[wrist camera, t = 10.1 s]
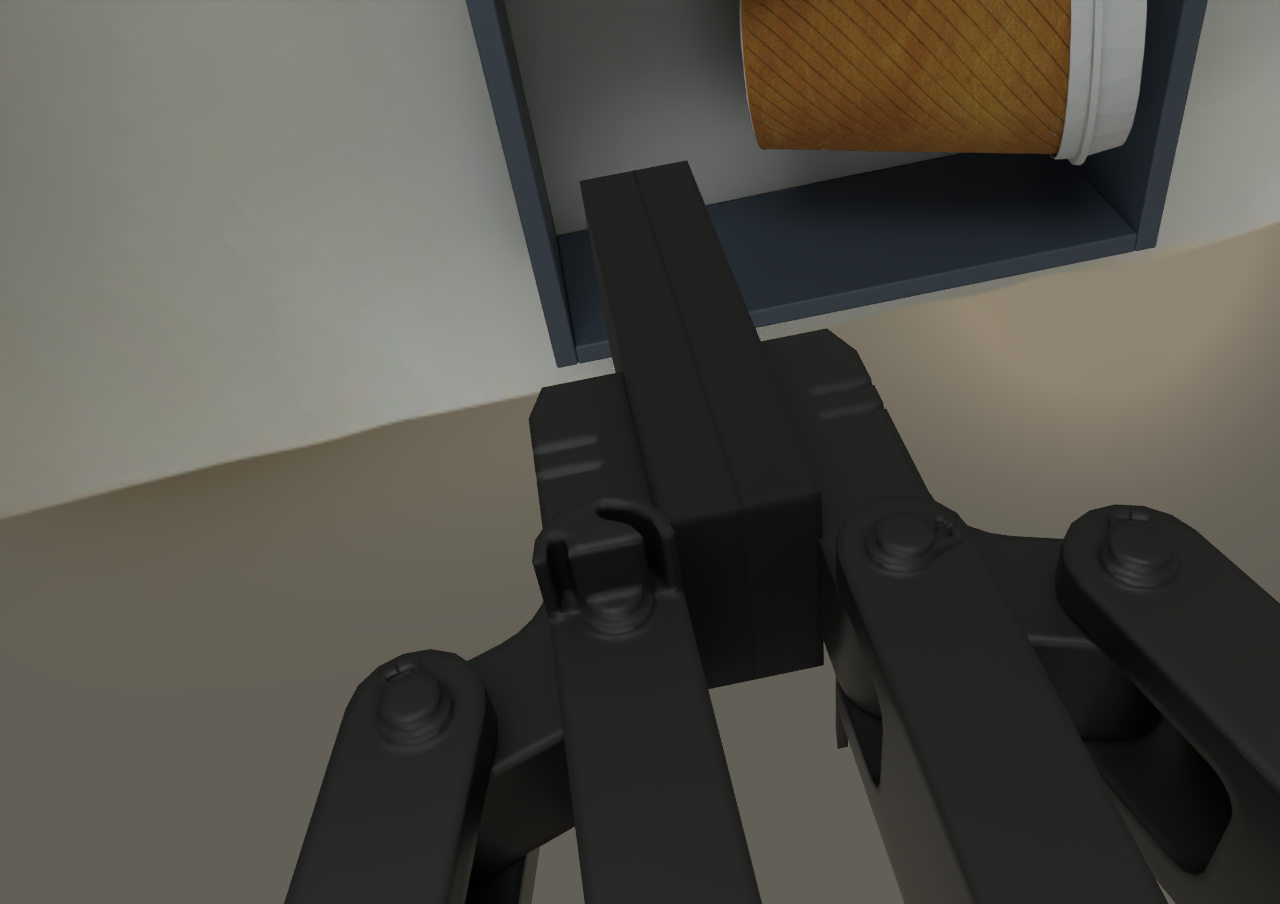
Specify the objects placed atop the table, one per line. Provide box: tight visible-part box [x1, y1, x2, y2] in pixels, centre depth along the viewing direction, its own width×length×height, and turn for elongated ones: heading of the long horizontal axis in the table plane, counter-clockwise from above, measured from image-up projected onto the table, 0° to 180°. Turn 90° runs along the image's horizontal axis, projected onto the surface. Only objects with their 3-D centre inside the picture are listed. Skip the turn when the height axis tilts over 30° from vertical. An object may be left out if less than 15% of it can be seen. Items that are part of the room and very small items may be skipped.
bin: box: [466, 0, 1207, 368], centre depth 38 cm, size 23×16×8 cm
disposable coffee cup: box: [739, 0, 1147, 165], centre depth 37 cm, size 10×10×12 cm
